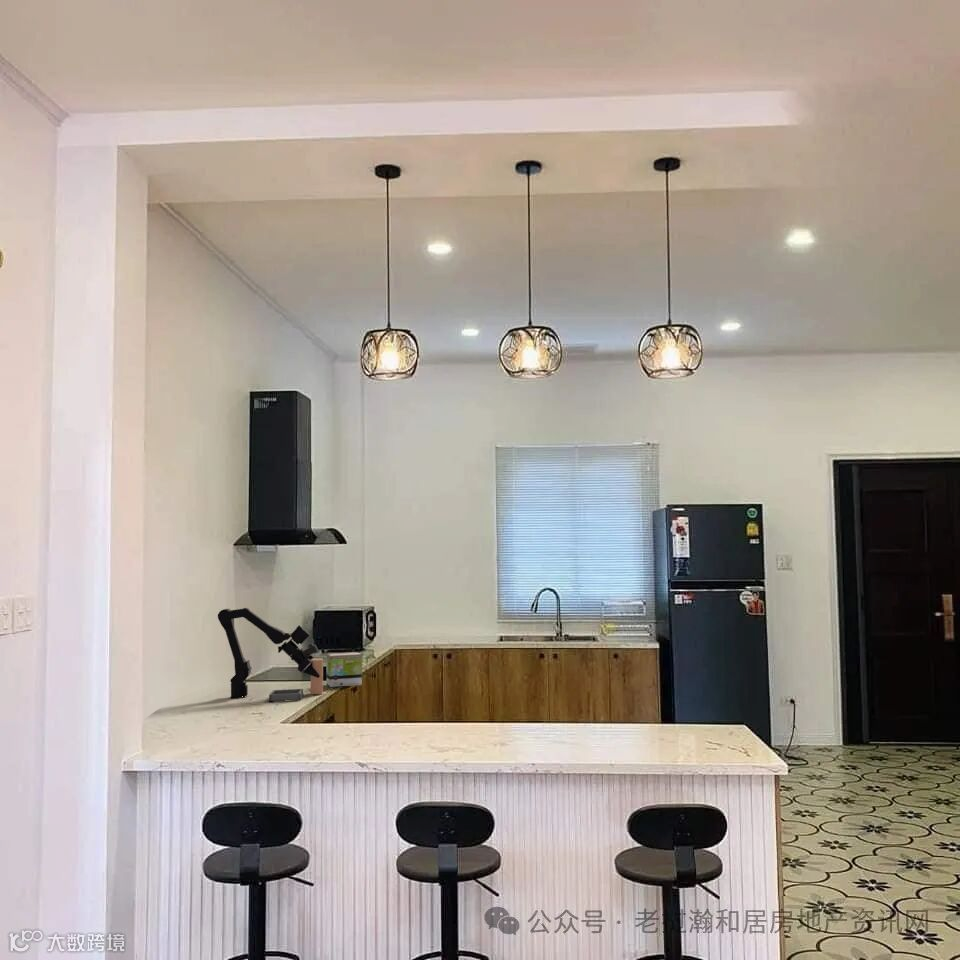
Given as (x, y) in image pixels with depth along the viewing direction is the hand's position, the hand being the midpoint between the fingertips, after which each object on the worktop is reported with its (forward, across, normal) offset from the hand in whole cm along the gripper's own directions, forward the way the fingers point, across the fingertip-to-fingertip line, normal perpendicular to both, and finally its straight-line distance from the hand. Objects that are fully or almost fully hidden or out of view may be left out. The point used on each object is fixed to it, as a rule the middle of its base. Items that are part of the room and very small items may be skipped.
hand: (319, 676), depth 393 cm
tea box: (+12, +22, -1) cm, 25 cm away
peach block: (+4, 0, +6) cm, 8 cm away
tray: (-4, -11, +15) cm, 19 cm away
